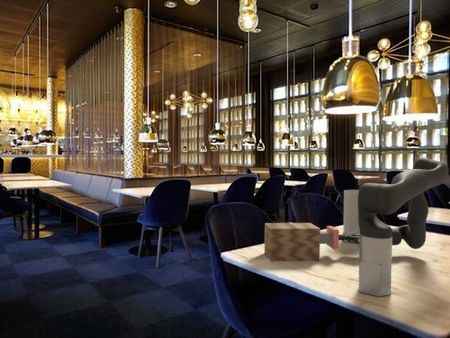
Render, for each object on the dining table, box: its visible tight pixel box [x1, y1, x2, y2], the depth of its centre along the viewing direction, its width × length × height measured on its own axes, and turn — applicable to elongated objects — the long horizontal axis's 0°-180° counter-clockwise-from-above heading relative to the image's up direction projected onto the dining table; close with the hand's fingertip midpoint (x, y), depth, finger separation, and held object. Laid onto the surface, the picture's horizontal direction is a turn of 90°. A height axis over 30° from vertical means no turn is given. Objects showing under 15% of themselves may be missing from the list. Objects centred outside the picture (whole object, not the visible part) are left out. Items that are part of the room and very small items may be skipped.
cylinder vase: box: [342, 189, 360, 245], centre depth 172 cm, size 12×12×25 cm
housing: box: [264, 221, 321, 262], centre depth 143 cm, size 20×12×13 cm, turn 94°
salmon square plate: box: [320, 225, 340, 250], centre depth 144 cm, size 20×8×8 cm, turn 94°
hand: (334, 237), depth 144 cm, fingers closed
